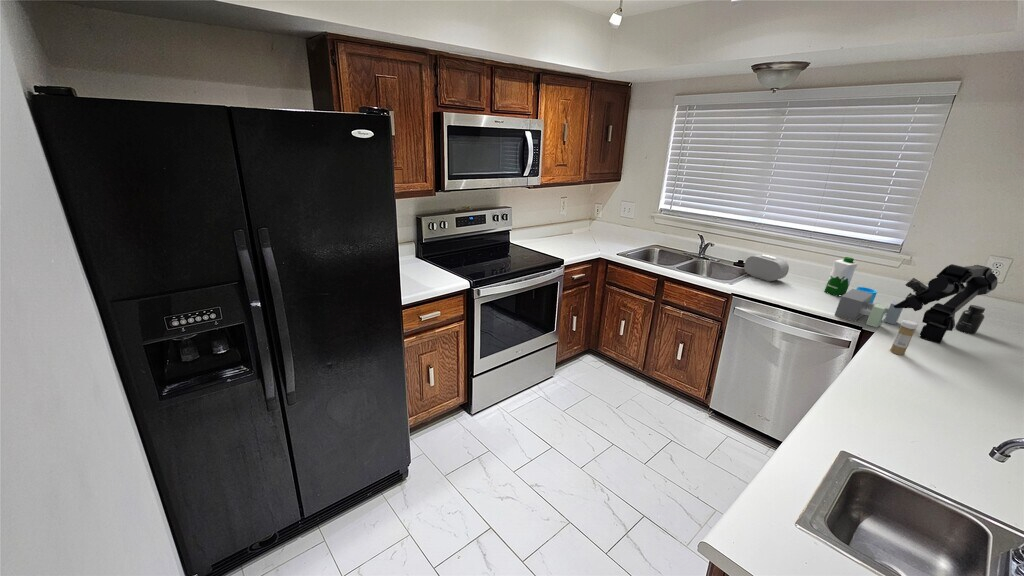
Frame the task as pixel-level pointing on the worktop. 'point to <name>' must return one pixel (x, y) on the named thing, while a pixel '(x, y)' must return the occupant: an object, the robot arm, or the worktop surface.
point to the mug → (868, 292)
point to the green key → (874, 314)
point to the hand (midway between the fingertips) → (894, 307)
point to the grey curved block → (852, 304)
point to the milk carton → (840, 276)
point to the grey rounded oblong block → (766, 267)
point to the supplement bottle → (970, 319)
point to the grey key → (890, 312)
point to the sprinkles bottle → (903, 337)
